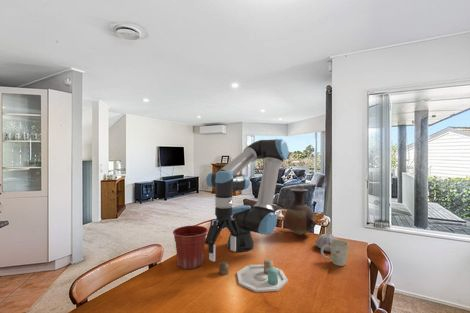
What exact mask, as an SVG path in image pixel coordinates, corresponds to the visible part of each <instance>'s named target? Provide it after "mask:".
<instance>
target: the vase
mask: <svg viewBox="0 0 470 313" xmlns="http://www.w3.org/2000/svg"><path fill="white" fill-rule="evenodd" d="M289 191H291V192H293V194H294V201H293V203H292V204H291V205H289V206H288V207H287V208H286V210H285V213H284V226H285V227H286V229H288V230H289V231H290V232H292V233H295V234H296V235H298V236H302V235H304V234H307V233H310V232H312V231H314V230H315V227H316V219H315V218H316V217H315V215H314V214H315V213H314V212H313V210H312V209H311V207H310V206H309V205H307V202H305V201H304V193H306V192H308V191H309V189H307V188H289Z"/></svg>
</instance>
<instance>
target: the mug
mask: <svg viewBox="0 0 470 313" xmlns="http://www.w3.org/2000/svg"><path fill="white" fill-rule="evenodd" d="M349 244H350V243H348V242H347V241H345V240H341V239H338V240H331V241H330V245H324V246H323V247H322V248H321V249H320V253H321V256H322V257H324V258H325V259H327V260H328V259H329V260H331V262H332V263H333V264H334V265H336V266H338V267H339V266H340V267H343V266H346V264H347V258H348V251H349ZM326 247H328V248H331V252H330V255H331V256H327V255H326V254H325V253H324V252H325V250H324V249H325V248H326Z"/></svg>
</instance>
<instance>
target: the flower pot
mask: <svg viewBox="0 0 470 313" xmlns="http://www.w3.org/2000/svg"><path fill="white" fill-rule="evenodd" d="M207 233H208V228H207V227H205V226H202V225H184V226H179V227H176V228H175V229H174V230H173V231H172V234H173V235H174V236H173V237H174V242H175V251H176V258H177V260H176V261H177V266H178V267H180V268H181V269H184V270H191V269H192V270H193V269H196V268H197V267H201V266H202V265H203V263H204V257H205V245H206V244H205V240H206V237H207Z"/></svg>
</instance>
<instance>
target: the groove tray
mask: <svg viewBox="0 0 470 313" xmlns="http://www.w3.org/2000/svg"><path fill="white" fill-rule="evenodd" d="M273 268H276V269H277V270H278V284H277V285H270V284H269V283H268V275H267V274H265V273H264V263H263V264H248V265H246V266H244V267H243V268H241V269H240V270H238V271H236V277H237V282H238V285H239V286H242V287H244V288H246V289H248V290H251V291H252V292H255V293H266V292H267V293H268V292H278V291H280V290H281V289H282V288H283V287H284V285H286V284H287V283H288V282H289V279H288V278H287V276H286V274H285V273H284V271H283V269H280V268H278V267H275V266H273Z"/></svg>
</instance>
